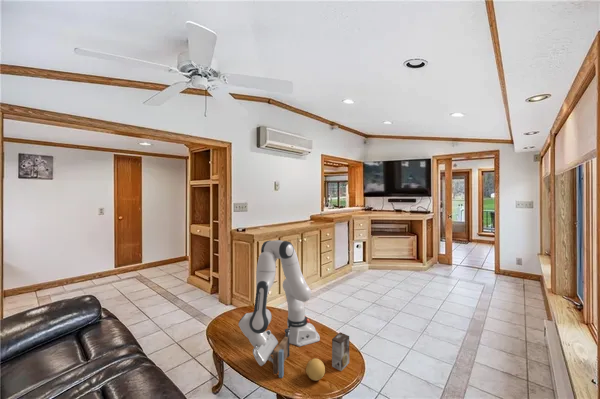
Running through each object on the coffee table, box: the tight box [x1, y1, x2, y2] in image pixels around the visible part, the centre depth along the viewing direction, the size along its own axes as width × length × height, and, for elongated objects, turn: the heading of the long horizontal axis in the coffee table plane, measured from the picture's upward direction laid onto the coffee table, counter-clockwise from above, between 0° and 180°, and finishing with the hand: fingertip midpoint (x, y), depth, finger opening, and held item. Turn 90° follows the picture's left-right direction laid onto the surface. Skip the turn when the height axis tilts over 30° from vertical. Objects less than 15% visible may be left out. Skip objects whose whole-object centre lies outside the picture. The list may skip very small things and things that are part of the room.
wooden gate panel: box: [272, 336, 288, 375], centre depth 153 cm, size 17×2×11 cm, turn 161°
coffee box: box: [331, 332, 350, 372], centre depth 154 cm, size 9×6×16 cm
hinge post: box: [284, 327, 290, 358], centre depth 163 cm, size 3×3×16 cm
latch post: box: [278, 349, 285, 379], centre depth 145 cm, size 2×2×14 cm
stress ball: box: [305, 357, 326, 381], centre depth 143 cm, size 10×10×10 cm
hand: (275, 361), depth 150 cm, fingers closed
